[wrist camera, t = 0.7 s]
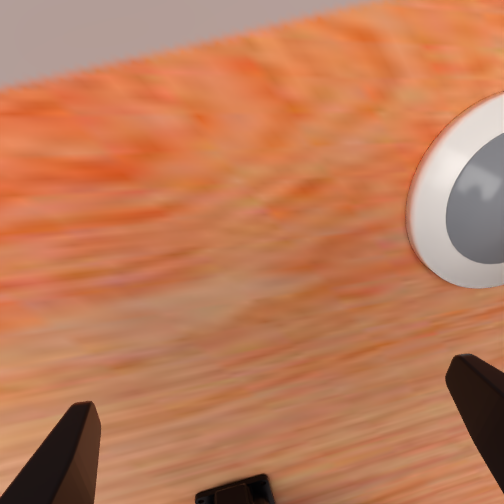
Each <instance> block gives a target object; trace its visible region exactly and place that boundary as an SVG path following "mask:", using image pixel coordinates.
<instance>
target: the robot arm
mask: <svg viewBox="0 0 504 504" xmlns="http://www.w3.org/2000/svg"><path fill="white" fill-rule="evenodd" d="M445 381H446V385H447V387H448V389H449V391H450V394H451V396H452V398H453V400H454V402H455V404H456V406H457V408H458V411H459V413H460V415H461V417H462V419H463V421H464V423H465V425H466V428H467V430H468V432H469V434H470V436H471V438H472V440H473V442H474V444H475V445H476V447H477V449H478V451H479V452H480V454H481V456H482V458H483V459H484V461H485V463H486V464H487V466H488V468H489V470H490V471H491V473H492V475H493V476H494V478H495V480H496V481H497V483H498V485H499V487H500V488H501V490H502V492H503V493H504V373H503V372H502V371H500V370H498V369H497V368H495V367H493V366H492V365H490V364H488V363H486V362H485V361H483V360H481V359H480V358H478V357H476V356H474V355H472V354H461V355H456V356H454V357H453V359H452V361H451V364H450V366H449V368H448V371H447V373H446V376H445ZM100 437H101V423H100V420H99V417H98V414H97V411H96V408H95V405H94V403H93V402H92V401H85V402H77V403H74V404H73V405H71V407H70V408H69V409H68V410H67V412H66V413H65V414H64V416H63V417H62V418H61V419H60V421H59V422H58V423H57V425H56V426H55V427H54V428H53V430H52V431H51V432H50V434H49V435H48V436H47V438H46V439H45V440H44V441H43V443H42V444H41V445H40V447H39V448H38V449H37V450H36V452H35V453H34V454H33V456H32V457H31V458H30V460H29V461H28V462H27V463H26V465H25V466H24V467H23V469H22V470H21V471H20V473H19V474H18V475H17V476H16V478H15V479H14V480H13V482H12V483H11V484H10V485H9V487H8V488H7V489H6V491H5V492H4V493H3V495H2V496H1V497H0V504H94V497H95V488H96V478H97V468H98V457H99V447H100ZM195 504H275V502H274V498H273V494H272V491H271V487H270V484H269V480H268V477H267V476H266V475H261V476H258V477H254V478H251V479H247V480H244V481H240V482H237V483H234V484H230V485H227V486H223V487H220V488H216V489H213V490H209V491H206V492H203V493H199V494H197V495H196V496H195Z"/></svg>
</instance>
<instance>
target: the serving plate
mask: <svg viewBox="0 0 504 504" xmlns="http://www.w3.org/2000/svg"><path fill="white" fill-rule="evenodd" d="M406 229H407V233H408V238H409V241H410V243H411V246H412V248H413V250H414V252H415V254H416V255H417V257H418V258H419V259H420V260H421V262H422V263H423V264H424V265H425V266H427V267H428V268H429V269H430V270H431V271H433V272H434V273H435V274H437V275H438V276H440V277H441V278H442V279H444V280H446V281H448V282H449V283H452V284H455V285H458V286H461V287H466V288H491V287H495V286H500V285H504V91H503V92H499V93H496V94H493V95H491V96H489V97H487V98H484V99H482V100H480V101H479V102H477V103H475V104H474V105H472V106H470V107H469V108H467V109H466V110H465V111H463V112H462V113H461V114H459V115H458V116H457V117H455V118H454V119H453V120H452V121H451V122H450V123H449V124H448V125H447V126H446V127H445V128H444V129H443V130H442V131H441V133H440V134H439V135H438V136H437V137H436V138H435V139H434V141H433V142H432V144H431V145H430V147H429V148H428V149H427V151H426V152H425V154H424V156H423V158H422V159H421V161H420V163H419V165H418V167H417V169H416V172H415V174H414V176H413V179H412V182H411V185H410V189H409V192H408V198H407V203H406Z"/></svg>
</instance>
